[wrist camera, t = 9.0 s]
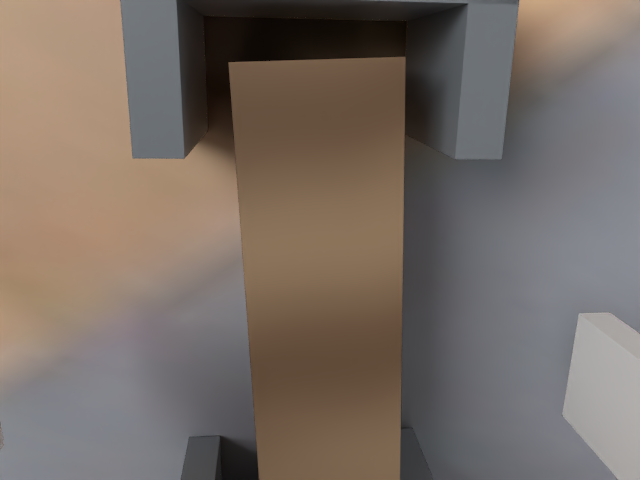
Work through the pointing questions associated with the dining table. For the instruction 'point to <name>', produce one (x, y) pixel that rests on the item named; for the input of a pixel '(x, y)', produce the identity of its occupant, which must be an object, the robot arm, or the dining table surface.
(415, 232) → the dining table surface
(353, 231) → the wooden block
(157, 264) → the dining table surface
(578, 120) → the dining table surface
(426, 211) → the dining table surface
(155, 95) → the endcap rail
